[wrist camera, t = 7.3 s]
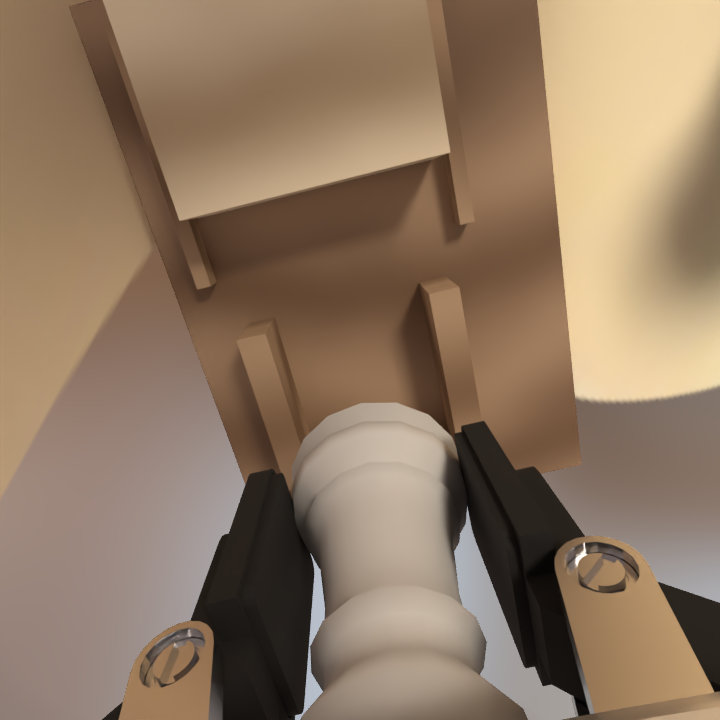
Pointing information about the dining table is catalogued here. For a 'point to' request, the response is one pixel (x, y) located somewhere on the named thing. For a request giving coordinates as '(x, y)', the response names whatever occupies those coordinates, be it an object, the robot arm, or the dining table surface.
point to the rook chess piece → (390, 570)
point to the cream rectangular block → (279, 93)
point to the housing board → (384, 264)
